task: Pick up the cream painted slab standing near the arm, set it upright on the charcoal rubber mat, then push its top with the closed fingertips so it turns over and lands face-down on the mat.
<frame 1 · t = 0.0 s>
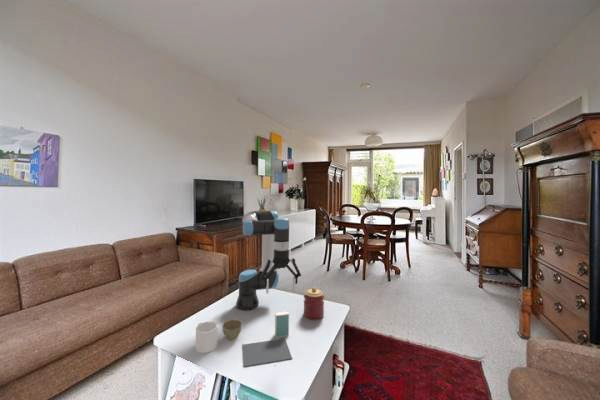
hand: (280, 291, 122), 28 cm above the table, fingers open, 13 cm apart
canister: (313, 315, 155), on the table
flower pot: (232, 338, 130), on the table
mug: (205, 346, 122), on the table
mat: (266, 351, 118), on the table
slab: (281, 335, 133), on the table
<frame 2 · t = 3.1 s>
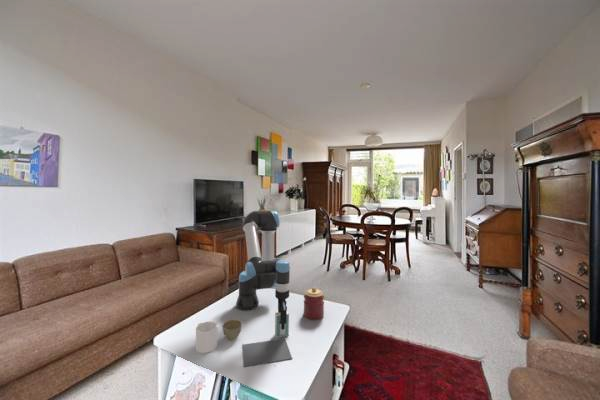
hand: (281, 332, 133), 2 cm above the table, fingers closed on slab, 3 cm apart
slab: (281, 335, 133), on the table, touching gripper
everything else where it was.
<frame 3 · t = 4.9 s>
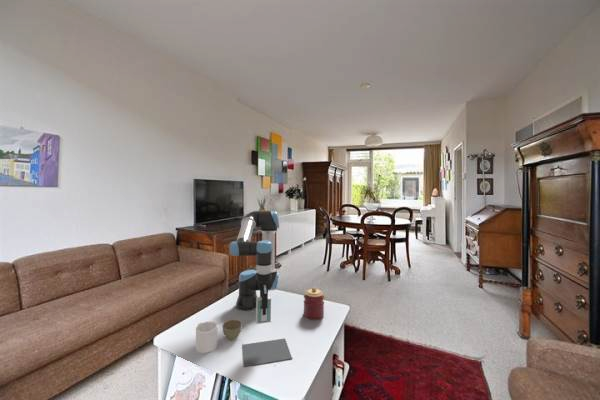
hand: (263, 318, 123), 14 cm above the table, fingers closed on slab, 3 cm apart
slab: (263, 321, 123), point 13 cm above the table, touching gripper
everything else where it was.
when the fingers open (3 cm above the table, at t = 7.1 s): slab stays where it is, resting on mat.
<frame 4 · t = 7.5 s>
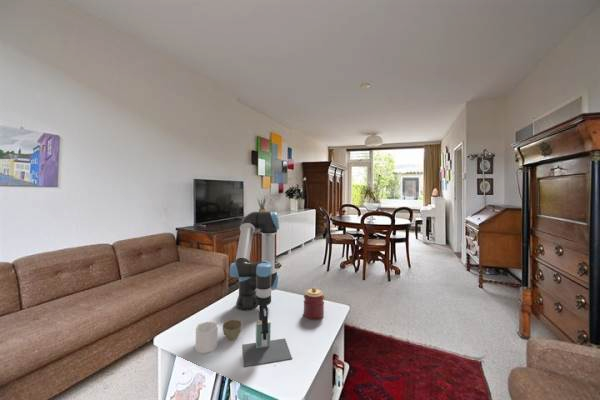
hand: (263, 339, 123), 4 cm above the table, fingers open, 9 cm apart
slab: (263, 345, 123), resting on mat
everything else where it was.
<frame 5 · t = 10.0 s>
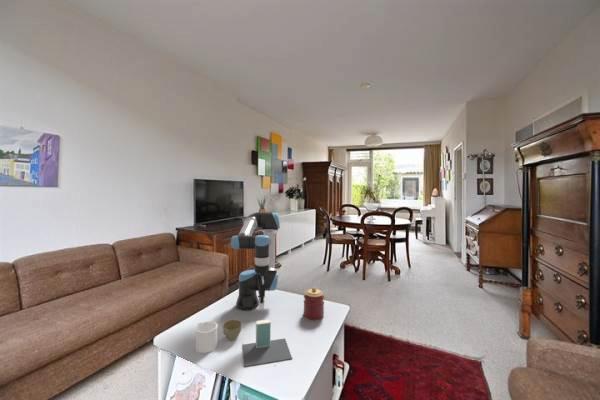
hand: (261, 307, 131), 15 cm above the table, fingers closed
nothing on the table moved.
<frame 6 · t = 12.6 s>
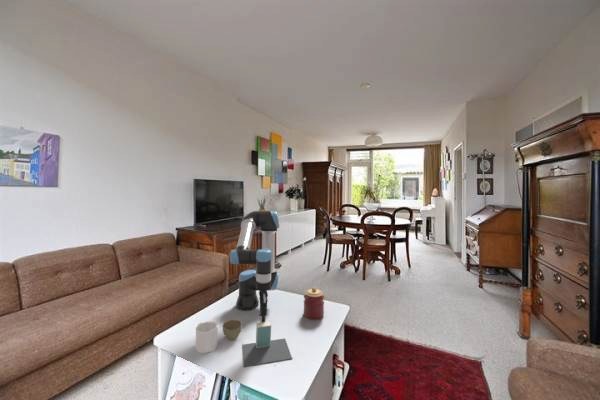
hand: (262, 327, 123), 9 cm above the table, fingers closed
slab: (263, 344, 123), point 1 cm above the table, tilted 11°, touching gripper, mat
everything else where it was.
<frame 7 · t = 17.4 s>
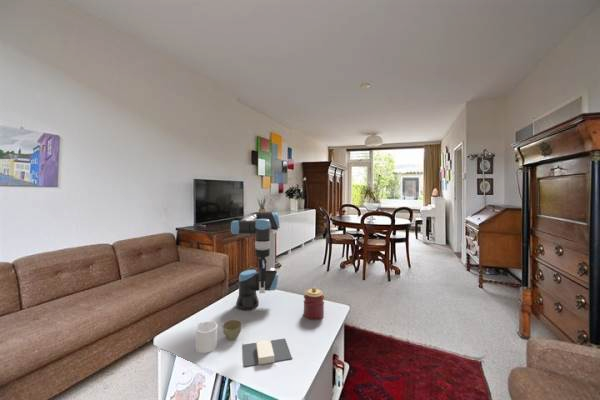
hand: (261, 292, 129), 24 cm above the table, fingers closed
slab: (263, 344, 121), point 2 cm above the table, tilted 90°, touching mat
everything else where it was.
at the end: slab tilted 90°; slab inside the target area on the mat (3.5 cm from its centre), point 1.9 cm above the mat's base; the gripper is holding nothing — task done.
